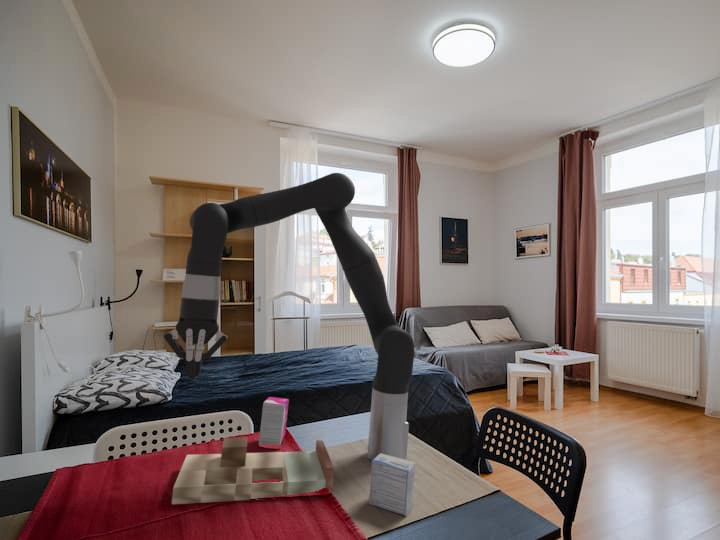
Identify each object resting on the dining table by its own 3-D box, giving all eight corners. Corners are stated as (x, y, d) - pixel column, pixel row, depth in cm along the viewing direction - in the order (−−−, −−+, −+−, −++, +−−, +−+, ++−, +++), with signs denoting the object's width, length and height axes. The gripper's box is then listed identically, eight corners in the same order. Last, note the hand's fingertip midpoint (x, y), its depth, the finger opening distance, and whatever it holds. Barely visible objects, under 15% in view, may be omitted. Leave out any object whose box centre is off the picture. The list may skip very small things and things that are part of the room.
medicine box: (413, 506, 76) (416, 462, 77) (406, 517, 72) (409, 470, 73) (376, 494, 80) (379, 452, 80) (368, 504, 75) (371, 459, 76)
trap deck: (320, 463, 91) (322, 440, 92) (331, 495, 78) (334, 467, 78) (185, 468, 84) (188, 443, 84) (171, 504, 70) (174, 473, 70)
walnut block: (245, 455, 86) (247, 437, 86) (245, 466, 81) (246, 446, 81) (222, 456, 84) (224, 438, 85) (220, 467, 80) (222, 447, 80)
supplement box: (280, 450, 97) (284, 404, 98) (257, 448, 97) (261, 402, 98) (285, 441, 103) (289, 398, 104) (263, 439, 103) (267, 396, 104)
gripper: (234, 298, 87) (226, 375, 86) (171, 293, 84) (162, 373, 83) (232, 299, 80) (223, 383, 79) (163, 294, 77) (153, 382, 76)
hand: (192, 378), depth 81 cm, fingers closed
